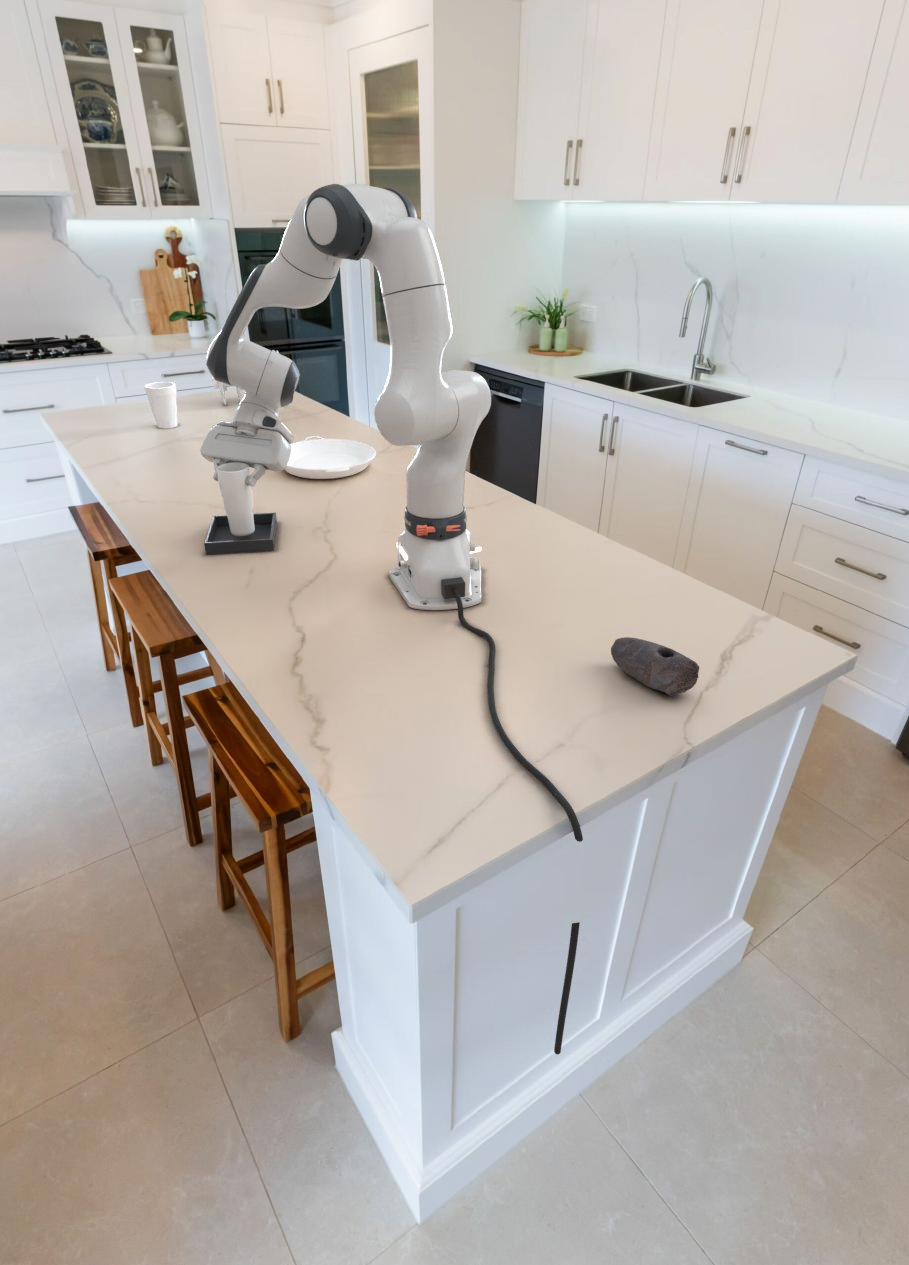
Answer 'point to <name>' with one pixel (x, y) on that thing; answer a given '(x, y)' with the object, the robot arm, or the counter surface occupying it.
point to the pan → (328, 458)
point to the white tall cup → (237, 497)
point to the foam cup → (163, 403)
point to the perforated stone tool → (655, 665)
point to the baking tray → (226, 543)
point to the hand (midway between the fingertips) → (233, 482)
